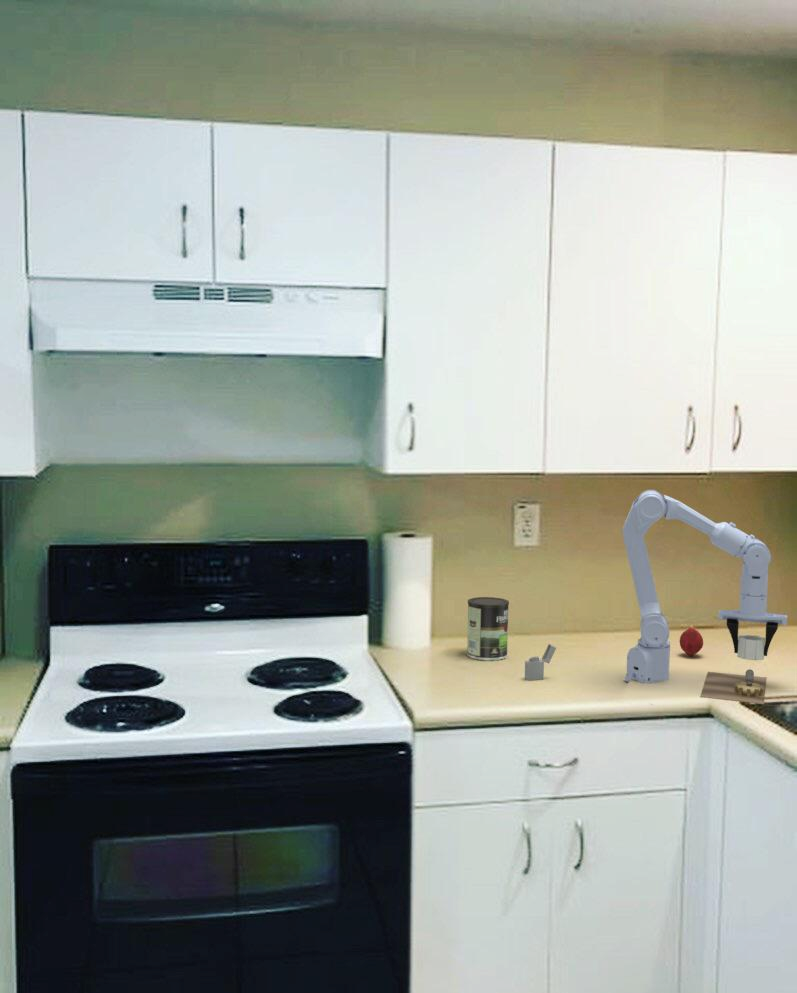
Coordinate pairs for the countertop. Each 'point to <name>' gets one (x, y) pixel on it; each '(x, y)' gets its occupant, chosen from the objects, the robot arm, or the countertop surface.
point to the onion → (691, 641)
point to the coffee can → (487, 628)
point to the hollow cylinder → (751, 647)
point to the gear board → (735, 687)
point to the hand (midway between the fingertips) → (750, 653)
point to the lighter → (538, 665)
